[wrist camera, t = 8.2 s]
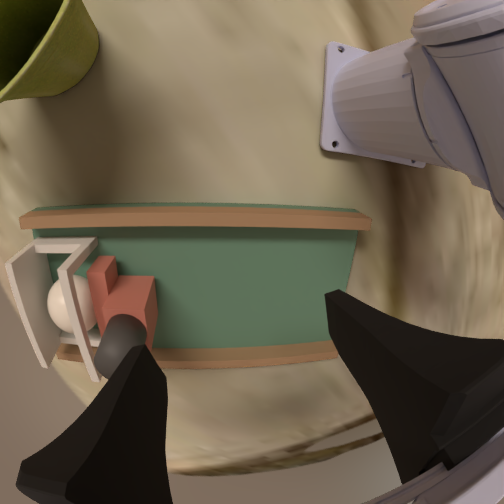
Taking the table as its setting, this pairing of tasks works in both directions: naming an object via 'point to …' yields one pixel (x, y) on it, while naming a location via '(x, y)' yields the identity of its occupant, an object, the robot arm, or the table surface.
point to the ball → (59, 308)
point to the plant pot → (44, 47)
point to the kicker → (120, 312)
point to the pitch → (220, 274)
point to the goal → (36, 295)
